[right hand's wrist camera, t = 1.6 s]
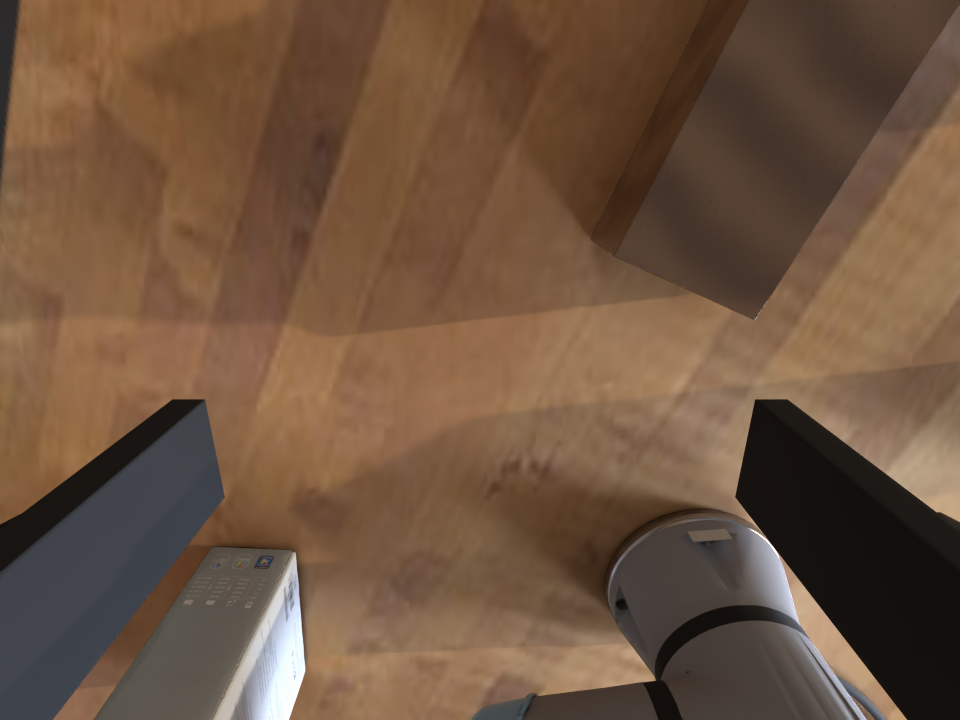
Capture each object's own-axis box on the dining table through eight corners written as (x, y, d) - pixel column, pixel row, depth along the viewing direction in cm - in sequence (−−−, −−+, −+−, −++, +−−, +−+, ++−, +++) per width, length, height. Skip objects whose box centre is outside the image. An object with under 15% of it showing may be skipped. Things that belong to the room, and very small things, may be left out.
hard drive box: (209, 543, 46) (24, 807, 27) (297, 546, 46) (172, 811, 27) (230, 669, 51) (88, 960, 33) (308, 672, 51) (211, 963, 33)
